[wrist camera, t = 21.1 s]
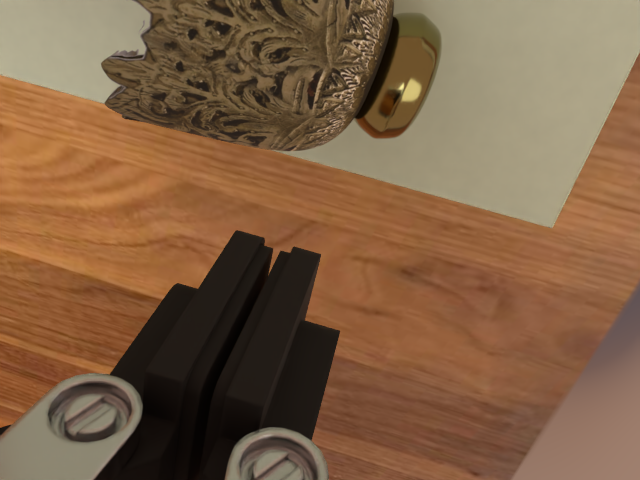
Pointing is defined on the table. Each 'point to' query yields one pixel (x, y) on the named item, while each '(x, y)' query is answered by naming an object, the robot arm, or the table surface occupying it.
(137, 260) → the table surface
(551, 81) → the mat
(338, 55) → the brown jagged-rimmed vessel
